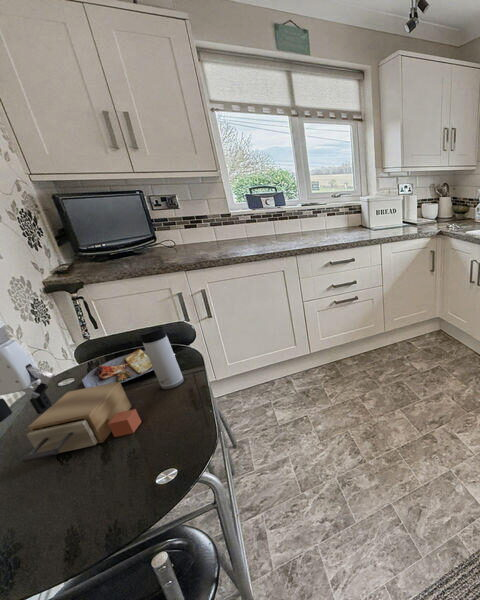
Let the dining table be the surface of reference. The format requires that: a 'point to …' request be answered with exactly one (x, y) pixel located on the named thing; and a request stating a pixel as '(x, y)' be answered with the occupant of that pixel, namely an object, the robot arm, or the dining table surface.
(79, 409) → the cabinet
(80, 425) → the drawer
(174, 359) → the travel mug
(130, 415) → the block
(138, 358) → the food plate
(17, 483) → the dining table surface
